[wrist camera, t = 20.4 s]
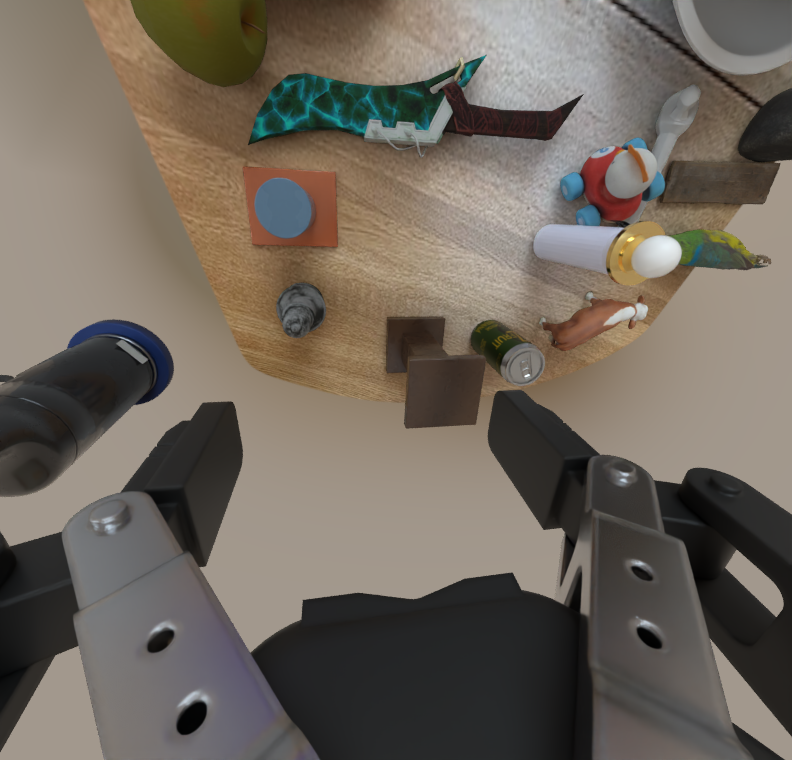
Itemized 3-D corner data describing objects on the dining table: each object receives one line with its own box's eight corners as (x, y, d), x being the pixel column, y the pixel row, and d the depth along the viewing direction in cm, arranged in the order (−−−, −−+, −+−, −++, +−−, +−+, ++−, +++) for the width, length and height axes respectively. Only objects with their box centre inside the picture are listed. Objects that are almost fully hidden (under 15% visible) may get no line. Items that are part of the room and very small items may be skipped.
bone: (701, 96, 42) (667, 90, 43) (719, 82, 38) (681, 76, 39) (622, 250, 51) (595, 243, 52) (629, 254, 47) (599, 246, 47)
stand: (385, 369, 52) (405, 428, 38) (387, 316, 49) (409, 359, 35) (437, 368, 54) (476, 424, 39) (442, 316, 50) (486, 357, 36)
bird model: (678, 223, 45) (664, 265, 47) (804, 235, 47) (787, 274, 49) (646, 225, 50) (635, 263, 52) (763, 236, 52) (748, 271, 54)
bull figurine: (616, 305, 54) (660, 320, 47) (535, 342, 54) (566, 362, 47) (613, 279, 52) (659, 290, 45) (529, 317, 52) (561, 334, 45)
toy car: (627, 141, 44) (671, 78, 34) (659, 204, 43) (712, 159, 34) (555, 181, 46) (576, 132, 36) (584, 241, 45) (614, 209, 36)
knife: (244, 41, 36) (252, 152, 39) (233, 19, 33) (243, 142, 36) (578, 73, 40) (563, 172, 43) (597, 56, 37) (579, 165, 40)
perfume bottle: (539, 272, 49) (655, 306, 32) (518, 239, 47) (631, 256, 29) (573, 243, 48) (712, 261, 31) (554, 208, 46) (693, 206, 28)
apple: (195, 70, 37) (290, 107, 36) (111, 53, 29) (230, 100, 29) (187, -76, 31) (301, -34, 30) (79, -145, 23) (229, -90, 23)
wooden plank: (783, 162, 47) (769, 203, 49) (773, 164, 49) (759, 204, 50) (673, 160, 45) (662, 203, 47) (665, 162, 46) (655, 204, 48)
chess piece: (273, 287, 45) (254, 310, 34) (317, 274, 45) (313, 294, 34) (289, 329, 47) (277, 364, 37) (332, 318, 48) (332, 348, 37)
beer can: (507, 344, 54) (550, 376, 43) (474, 358, 54) (509, 394, 43) (498, 312, 51) (542, 338, 41) (464, 327, 51) (499, 357, 41)
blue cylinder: (273, 232, 42) (257, 237, 33) (269, 183, 40) (250, 175, 31) (317, 233, 42) (313, 239, 34) (314, 186, 40) (309, 179, 31)
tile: (253, 244, 42) (252, 244, 42) (243, 167, 39) (242, 166, 38) (337, 246, 44) (337, 246, 43) (335, 172, 41) (335, 171, 40)
